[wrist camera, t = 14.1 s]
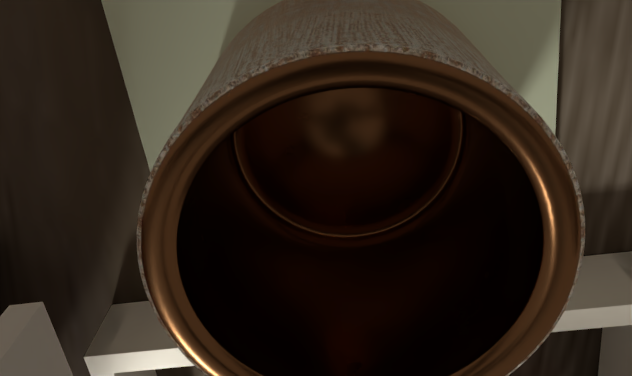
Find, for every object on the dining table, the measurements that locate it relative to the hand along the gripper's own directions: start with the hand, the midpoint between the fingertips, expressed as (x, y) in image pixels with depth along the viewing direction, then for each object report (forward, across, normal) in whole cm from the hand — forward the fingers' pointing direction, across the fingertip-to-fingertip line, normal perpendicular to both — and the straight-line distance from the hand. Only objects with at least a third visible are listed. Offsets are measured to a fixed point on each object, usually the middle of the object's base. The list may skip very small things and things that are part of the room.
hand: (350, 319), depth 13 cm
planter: (+11, 0, 0) cm, 11 cm away
